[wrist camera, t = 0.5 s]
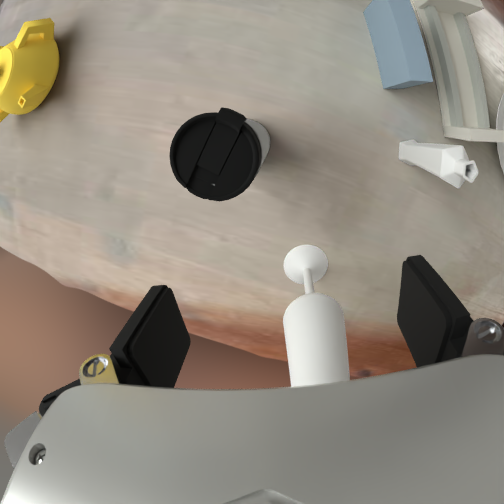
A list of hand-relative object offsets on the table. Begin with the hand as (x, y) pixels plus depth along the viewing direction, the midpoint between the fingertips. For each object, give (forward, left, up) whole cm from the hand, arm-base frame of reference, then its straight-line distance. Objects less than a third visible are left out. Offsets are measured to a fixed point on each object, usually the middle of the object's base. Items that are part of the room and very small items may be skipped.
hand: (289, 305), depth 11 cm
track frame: (-14, +29, -29) cm, 43 cm away
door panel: (-16, +17, -29) cm, 37 cm away
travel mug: (-5, -4, -29) cm, 30 cm away
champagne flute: (+14, +1, -29) cm, 32 cm away
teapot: (-30, -38, -29) cm, 57 cm away
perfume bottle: (-1, +18, -29) cm, 34 cm away
